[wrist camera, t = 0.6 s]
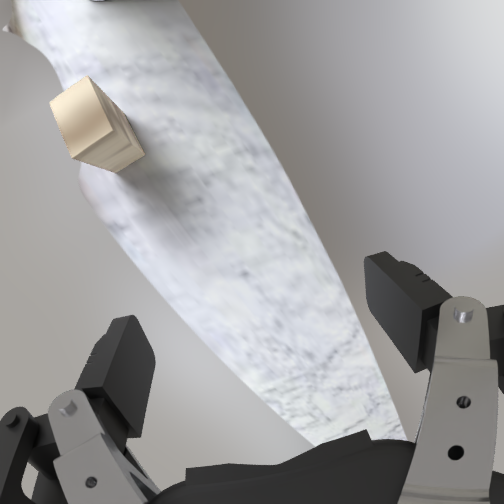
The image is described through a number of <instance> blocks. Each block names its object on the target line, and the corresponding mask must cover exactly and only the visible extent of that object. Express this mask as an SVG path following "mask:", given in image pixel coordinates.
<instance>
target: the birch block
mask: <svg viewBox="0 0 504 504" xmlns="http://www.w3.org/2000/svg"><path fill="white" fill-rule="evenodd" d="M50 106H51V108H52V111H53V114H54V116H55V119H56V121H57V124H58V126H59V129H60V131H61V134H62V136H63V139H64V141H65V143H66V146H67V148H68V150H69V153H70V155H71V157H72V158H73V159H76V160H79V161H81V162H84V163H87V164H90V165H93V166H96V167H99V168H102V169H105V170H108V171H111V172H114V173H117V172H119V171H120V170H122V169H123V168H125V167H127V166H128V165H130V164H131V163H133V162H135V161H136V160H138V159H139V158H141V157H143V156H144V155H145V153H144V151H143V149H142V147H141V145H140V144H139V142H138V140H137V138H136V136H135V134H134V132H133V130H132V128H131V126H130V124H129V122H128V120H127V118H126V116H125V114H124V113H123V112H122V111H121V110H120V109H119V107H118V106H117V105H116V104H115V103H114V102H113V101H112V100H111V99H110V98H109V97H108V96H107V95H106V94H105V93H104V92H103V91H102V90H101V89H100V88H99V87H98V86H97V85H96V84H95V83H94V82H93V80H92V79H91V78H90V77H89V76H88V75H87V76H86V77H84V78H83V79H81V80H80V81H78V82H77V83H75V84H74V85H72V86H71V87H69V88H68V89H67V90H65V91H64V92H63V93H61V94H60V95H59V96H57V97H56V98H55V99H53V100H52V101H51V102H50Z"/></svg>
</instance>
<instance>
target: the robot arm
mask: <svg viewBox="0 0 504 504" xmlns="http://www.w3.org/2000/svg"><path fill="white" fill-rule="evenodd" d="M92 1H103V0H92ZM364 269H365V270H364V271H365V283H366V284H365V285H366V299H367V303H368V307H369V309H370V311H371V313H372V314H373V316H374V317H375V319H376V320H377V321H378V323H379V324H380V325H381V327H382V328H383V329H384V331H385V332H386V333H387V335H388V336H389V337H390V339H391V340H392V342H393V343H394V345H395V346H396V347H397V349H398V350H399V351H400V353H401V354H402V356H403V357H404V359H405V360H406V361H407V363H408V364H409V366H410V367H411V368H412V370H413V371H414V373H417V372H420V371H422V370H424V369H426V368H427V369H428V370H429V371H430V377H429V382H428V387H427V393H426V397H425V402H424V406H423V411H422V415H421V419H420V423H419V427H418V431H417V434H416V438H415V441H414V443H413V442H409V441H404V440H394V439H382V440H371V438H370V436H369V434H368V432H367V429H366V430H363V431H360V432H357V433H354V434H351V435H348V436H345V437H342V438H339V439H336V440H332V441H329V442H326V443H322V444H320V445H318V446H317V447H315V448H313V449H311V450H309V451H307V452H305V453H303V454H300V455H298V456H296V457H294V458H292V459H290V460H288V461H286V462H283V463H281V464H278V465H247V464H229V463H228V464H222V465H213V466H205V467H195V468H186V479H185V481H182V482H180V483H177V484H175V485H172V486H170V487H169V488H167V489H165V490H163V491H162V492H161V491H160V489H159V488H158V487H157V486H156V485H155V484H154V482H153V481H152V480H151V478H150V477H149V476H148V474H147V473H146V472H145V470H144V469H143V467H142V466H141V465H140V463H139V462H138V460H137V459H136V458H135V456H134V455H133V454H132V452H131V450H130V449H129V448H128V447H127V445H126V442H127V438H140V437H141V434H142V429H143V423H144V418H145V412H146V407H147V403H148V397H149V393H150V388H151V383H152V379H153V374H154V370H155V355H154V352H153V349H152V347H151V345H150V343H149V341H148V339H147V338H146V335H145V333H144V331H143V330H142V327H141V325H140V323H139V321H138V319H137V318H136V317H135V316H134V315H129V316H125V317H120V318H116V319H113V320H112V322H111V324H110V327H109V329H108V331H107V333H106V334H105V335H103V336H102V338H101V339H100V340H99V341H98V342H97V343H96V344H95V346H94V348H93V350H92V352H91V356H89V358H88V361H87V364H86V365H85V367H84V369H83V371H82V373H81V375H80V378H79V380H78V382H77V385H76V387H75V389H74V390H69V391H66V392H64V393H62V394H60V395H59V396H58V397H56V398H55V399H54V401H53V402H52V403H51V405H50V407H49V410H48V414H44V415H41V416H38V417H35V418H34V417H33V416H32V415H31V414H30V413H29V412H28V411H27V409H26V408H24V407H16V408H13V409H11V410H10V411H9V412H7V413H6V414H5V415H4V416H3V418H2V419H1V421H0V504H504V474H502V473H499V472H495V471H492V469H493V462H494V454H495V445H496V433H497V415H498V387H499V388H500V390H501V391H502V393H503V394H504V305H500V306H495V307H489V308H485V306H484V305H483V304H482V303H481V302H479V301H478V300H476V299H474V298H470V297H464V296H459V297H452V296H451V295H450V294H449V293H448V292H446V291H445V290H444V289H443V288H442V287H441V286H439V285H438V284H437V283H436V282H435V281H433V280H431V279H430V277H429V276H427V275H426V274H424V273H423V272H422V271H421V270H420V269H419V268H418V267H416V266H415V265H413V264H410V263H407V262H404V261H400V262H398V261H397V260H396V259H395V258H394V257H392V256H391V255H390V254H389V253H388V252H386V251H384V252H381V253H377V254H374V255H370V256H367V257H365V259H364ZM27 462H29V463H30V464H31V465H32V466H33V467H34V468H35V469H36V470H37V471H39V473H38V476H37V480H36V483H35V487H34V491H33V495H32V499H31V500H30V499H29V498H28V497H27V496H25V494H24V493H23V490H22V487H21V481H22V478H23V474H24V471H25V468H26V465H27Z"/></svg>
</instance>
